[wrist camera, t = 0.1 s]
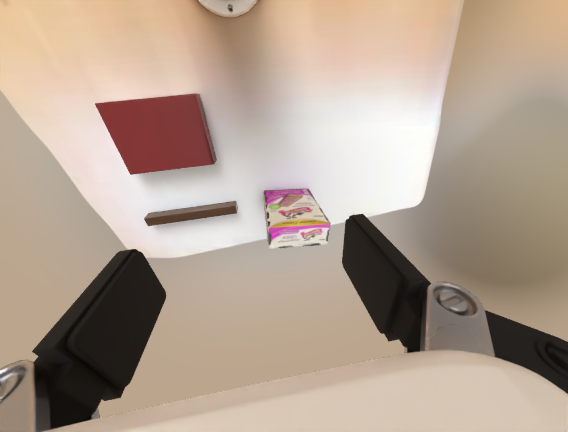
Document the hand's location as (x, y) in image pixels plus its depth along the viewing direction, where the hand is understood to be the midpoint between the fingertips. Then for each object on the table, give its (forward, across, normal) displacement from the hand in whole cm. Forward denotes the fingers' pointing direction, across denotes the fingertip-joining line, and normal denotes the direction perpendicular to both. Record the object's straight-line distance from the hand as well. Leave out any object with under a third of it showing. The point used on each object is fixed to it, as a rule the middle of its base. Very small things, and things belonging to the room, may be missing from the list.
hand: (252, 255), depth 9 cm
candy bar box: (+37, -6, +15) cm, 40 cm away
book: (+37, +16, -2) cm, 40 cm away
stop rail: (+37, +16, +15) cm, 43 cm away
